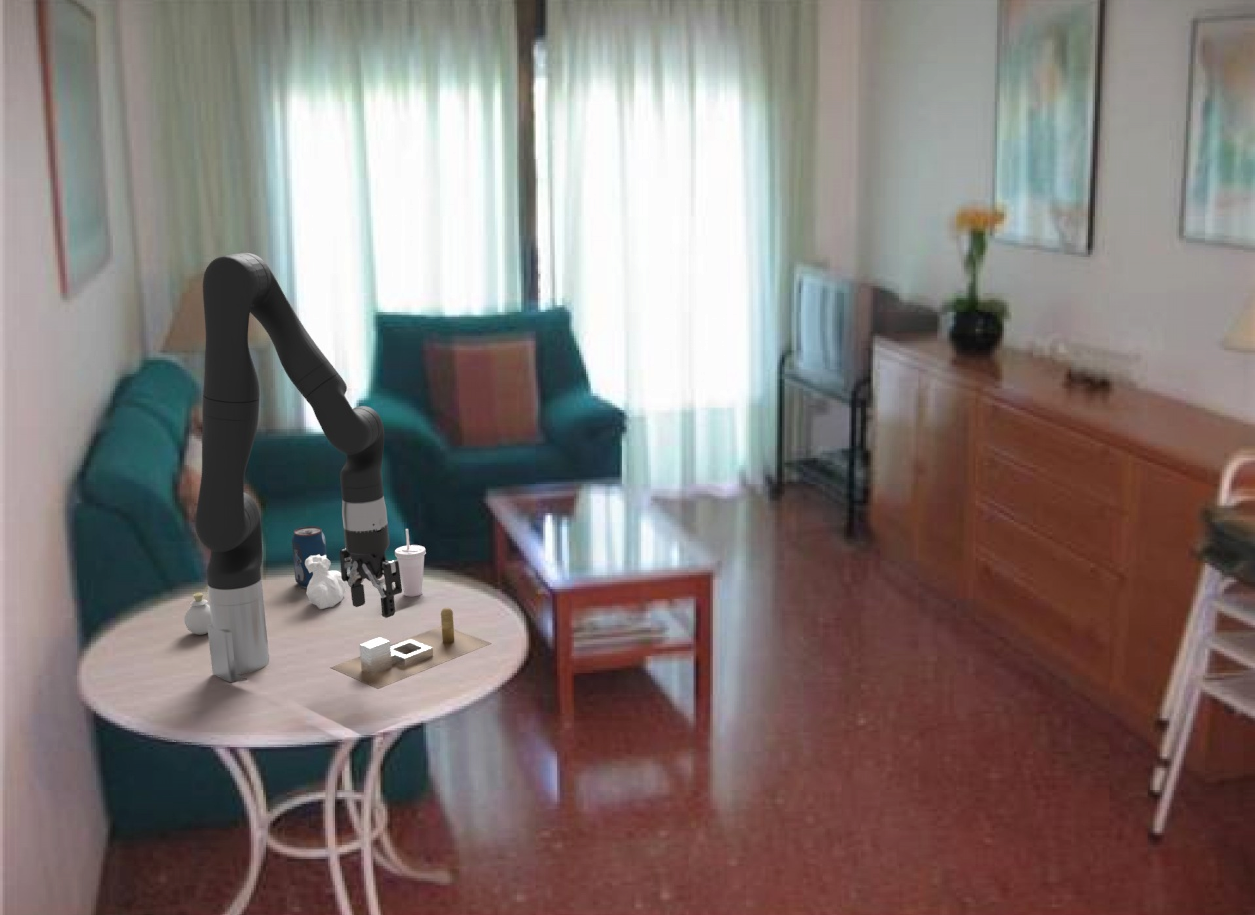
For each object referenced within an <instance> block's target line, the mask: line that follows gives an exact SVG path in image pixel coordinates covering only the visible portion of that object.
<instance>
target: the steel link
mask: <svg viewBox="0 0 1255 915" xmlns="http://www.w3.org/2000/svg"><path fill="white" fill-rule="evenodd" d="M390 645H391V641H390V640H388V639H386V638H383V637H381V636H378V637H376V638H373V639H371V640H368V641H365V642H363V643H360V644H359V652H360V653H359V657H361V669H362V671H364V672H366V673H368V674H371V675H373V674H376V673H378V672H381V671H384V670H386V669H389V668H391V667H392V665H393V664H395V663H397V664H399V665H402V666H404V667H406V666H409V665H411V664H414V663H416V662H419V661H421V660H424V659H426V658H429V657H432V656H433V648H432V647H430V646H427V645H425V644H422V643H419V642H417V641H414V640H412V639H409V640H407V641H404V642H401V643H399V644H396V645H393V646H391V647H390ZM408 651H412V653H409V654H406V655H405V654H403V653H405V652H408Z"/></svg>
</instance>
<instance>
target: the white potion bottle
mask: <svg viewBox="0 0 1255 915" xmlns="http://www.w3.org/2000/svg"><path fill="white" fill-rule="evenodd" d="M204 590H205V591H206V592H208V586H205V588H204ZM203 595H204V594H203V593H202V592H197V593H196V592H195V593H194V594H193V598H194V599H193V600H192V601H190V603H189V604H190V607H189V608H188V609H187V610H186V612H185V613H184V614H185V615H184V625H185V627H186V628H187V630H188V631H189V632H190V633H192V634H194V635H200V636H201V635H205V634H208V628H207V626H208V625H209V624H211V623H212V620H211V611H210V604H208V602H209V601H208V600H207V599H205V598H203Z"/></svg>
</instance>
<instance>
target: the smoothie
mask: <svg viewBox="0 0 1255 915" xmlns="http://www.w3.org/2000/svg"><path fill="white" fill-rule="evenodd" d="M405 537H406V545H403V546H399V547H397V548H396V549H395V550H394V556H395V557H396V560H397V561H398V563H399V570H400V578H401V585H402V591H403V594H404V596H406V597H418V596H421V595H423V582H424V569H425V568H424V567H425V566H424V565H425V555H426V554H427V552H426V548H425V546H422V545H418V544H411V545H410V535H409V528H405Z"/></svg>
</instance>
